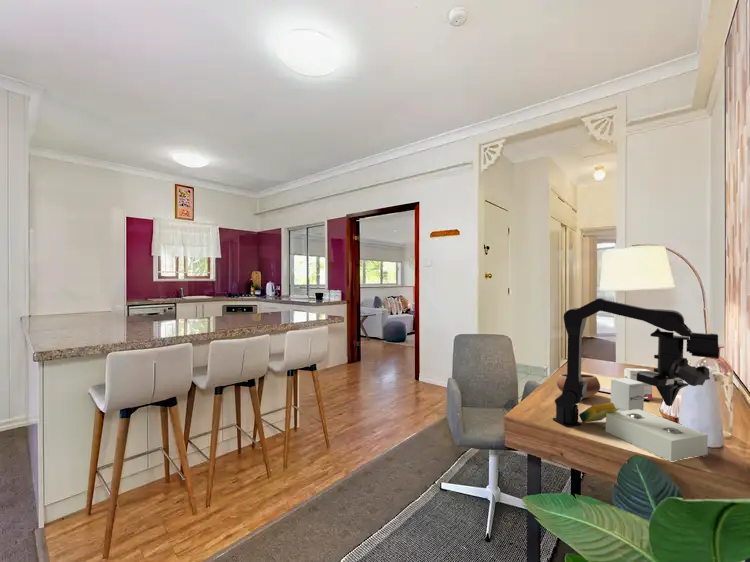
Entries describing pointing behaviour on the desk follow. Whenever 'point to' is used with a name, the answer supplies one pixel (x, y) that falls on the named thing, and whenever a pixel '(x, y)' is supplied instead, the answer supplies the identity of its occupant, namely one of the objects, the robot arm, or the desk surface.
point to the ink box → (632, 375)
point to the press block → (657, 435)
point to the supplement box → (627, 394)
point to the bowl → (592, 380)
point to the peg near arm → (635, 416)
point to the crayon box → (597, 412)
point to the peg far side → (672, 430)
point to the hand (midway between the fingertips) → (668, 405)
